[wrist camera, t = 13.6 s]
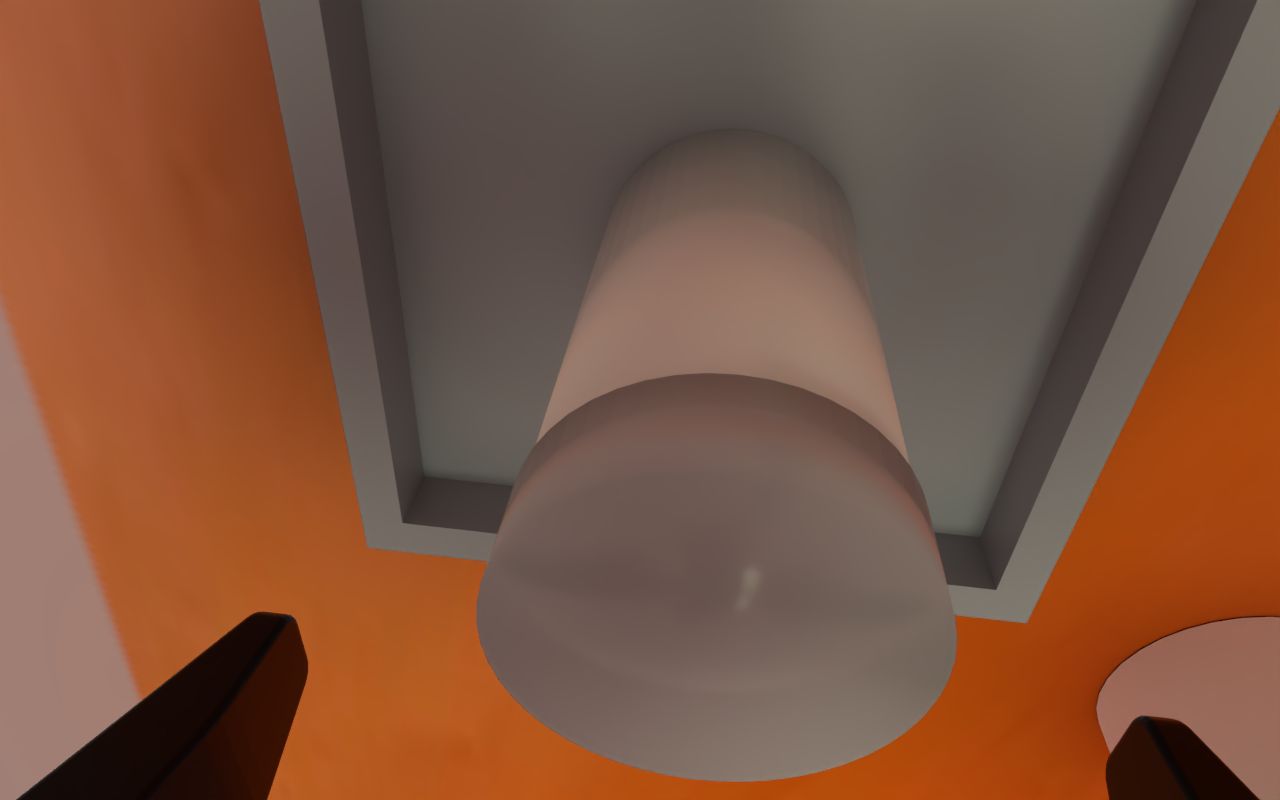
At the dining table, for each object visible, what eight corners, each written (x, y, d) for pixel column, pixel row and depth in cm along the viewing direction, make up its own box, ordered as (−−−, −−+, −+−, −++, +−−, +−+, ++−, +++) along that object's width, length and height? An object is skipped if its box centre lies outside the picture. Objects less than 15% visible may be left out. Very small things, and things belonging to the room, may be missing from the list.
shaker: (887, 136, 16) (1024, 503, 8) (834, 371, 19) (894, 805, 11) (604, 112, 16) (459, 442, 8) (598, 347, 19) (489, 753, 11)
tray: (1324, -206, 13) (1431, -203, 11) (1001, 546, 22) (1026, 623, 20) (284, -269, 14) (203, -279, 12) (400, 480, 23) (367, 547, 21)
